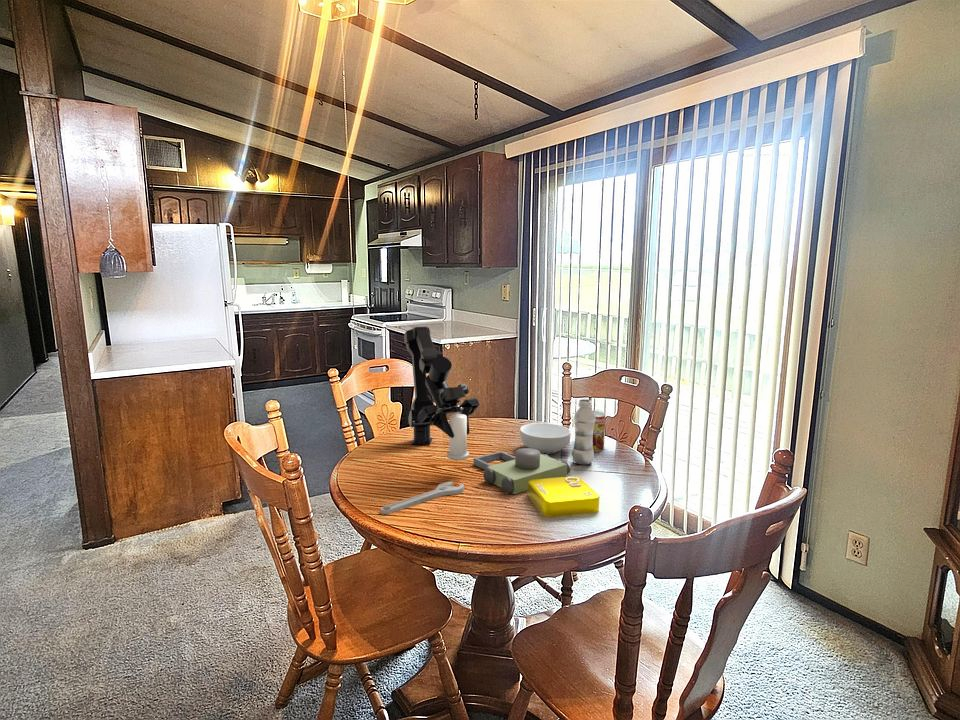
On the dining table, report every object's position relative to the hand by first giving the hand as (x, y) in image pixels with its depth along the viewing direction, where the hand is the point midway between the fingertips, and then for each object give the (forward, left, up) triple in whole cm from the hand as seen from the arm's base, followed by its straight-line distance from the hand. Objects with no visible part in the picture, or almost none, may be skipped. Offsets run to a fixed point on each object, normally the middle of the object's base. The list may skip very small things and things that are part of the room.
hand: (460, 435), depth 155 cm
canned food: (-29, +42, -13) cm, 52 cm away
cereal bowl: (-26, +26, -13) cm, 39 cm away
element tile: (+15, +28, -13) cm, 34 cm away
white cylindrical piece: (-1, -1, -7) cm, 7 cm away
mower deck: (-5, +15, -12) cm, 20 cm away
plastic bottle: (-14, +37, -13) cm, 41 cm away
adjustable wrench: (+15, -9, -13) cm, 22 cm away
